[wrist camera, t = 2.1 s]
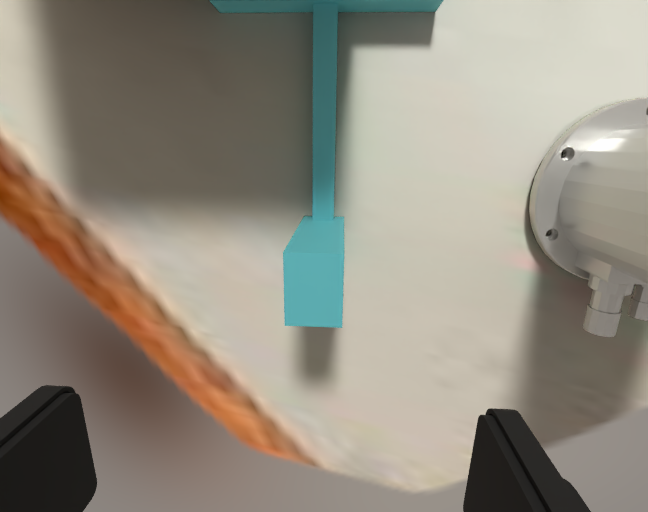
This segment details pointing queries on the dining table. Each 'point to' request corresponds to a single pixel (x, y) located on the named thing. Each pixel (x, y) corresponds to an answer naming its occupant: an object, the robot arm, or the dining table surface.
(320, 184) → the scraper
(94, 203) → the dining table surface
